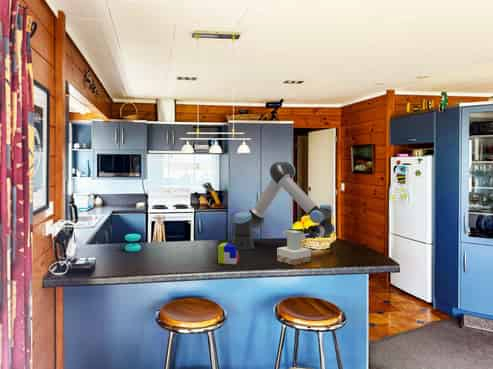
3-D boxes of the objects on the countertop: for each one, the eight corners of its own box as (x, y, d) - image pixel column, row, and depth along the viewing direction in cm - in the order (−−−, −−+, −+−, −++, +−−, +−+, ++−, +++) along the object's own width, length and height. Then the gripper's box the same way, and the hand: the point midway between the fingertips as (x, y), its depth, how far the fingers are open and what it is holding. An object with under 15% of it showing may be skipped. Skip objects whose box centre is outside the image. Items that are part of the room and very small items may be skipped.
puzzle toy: (235, 264, 234) (235, 246, 233) (218, 263, 236) (218, 246, 235) (239, 260, 243) (239, 243, 243) (222, 259, 245) (222, 242, 245)
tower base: (277, 261, 242) (277, 254, 242) (293, 257, 252) (293, 251, 251) (294, 266, 232) (295, 259, 232) (310, 262, 241) (311, 255, 241)
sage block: (287, 248, 242) (287, 231, 241) (293, 246, 246) (294, 230, 245) (294, 250, 237) (295, 233, 237) (301, 248, 241) (301, 231, 240)
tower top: (277, 254, 243) (277, 248, 242) (294, 251, 251) (294, 245, 251) (293, 259, 232) (294, 252, 231) (311, 256, 240) (311, 249, 240)
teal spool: (124, 233, 268) (139, 233, 272) (124, 249, 269) (139, 248, 273) (125, 236, 259) (141, 235, 263) (125, 252, 260) (141, 251, 263)
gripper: (332, 240, 244) (308, 245, 230) (299, 234, 263) (276, 238, 249) (332, 227, 244) (309, 232, 230) (300, 222, 262) (276, 226, 248)
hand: (292, 235), depth 239 cm, fingers open, 13 cm apart
